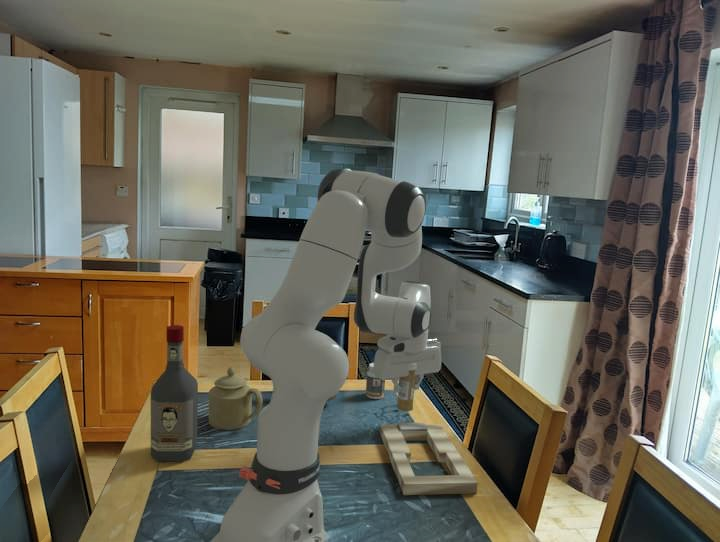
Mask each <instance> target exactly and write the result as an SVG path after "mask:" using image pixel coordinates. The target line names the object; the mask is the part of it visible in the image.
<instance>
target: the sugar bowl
mask: <svg viewBox="0 0 720 542" xmlns="http://www.w3.org/2000/svg"><path fill="white" fill-rule="evenodd" d="M226 374H227V375H224V376H221V377H219V378H218V379H215V380H214V381H213V384H214V386H213V387H211V388H210V389H209V391H208V424H209V425H210V426H211V427H212V428H214V429H217V430H223V431H231V430H232V431H233V430H238V429H243V428H245V427H246V426H248V425H249V424H250V423H251V422H252V418H255V417H256V416H257V415H259V413H260V412H261V410H262V406H263V401H264V399H263V395H262V392H261V391H260V390H259V389H258V388H255V387H250V386H249V385H247V384H248V381H247V380H246V379H245V378H243V377H241V376H239V375H236V374H235V369H234V367H233V366H230V367H228V368H227V372H226ZM253 395H254V396H255V400H256V404H255V408H254V411H252V406H253V404H252V403H253Z"/></svg>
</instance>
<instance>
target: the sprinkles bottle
mask: <svg viewBox="0 0 720 542" xmlns="http://www.w3.org/2000/svg"><path fill="white" fill-rule="evenodd" d="M416 368H417V363H412V364H409V365H408V371H409V374H408V376H406V377H400V380H399V381H398V384H399V385H400V386H402V389H401V390H402V392H399V393H397V404H396V409H397V410H399V411H401V412H411V411H413V409H414V398H415V390H414V388H415V378H416V376H415V371H416Z"/></svg>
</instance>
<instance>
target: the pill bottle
mask: <svg viewBox="0 0 720 542" xmlns="http://www.w3.org/2000/svg"><path fill="white" fill-rule="evenodd" d="M373 367H374V362H371V363H369V364H368V371H367V372H366V383H365V384H366V385H365V396H366V397H367V398H368V399H371V400H373V399H374V400H380V399H382V398H384V397H385V386H386V379H384V380H381V379H379V378H378V377H376V376H375V375H374V373H373Z"/></svg>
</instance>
